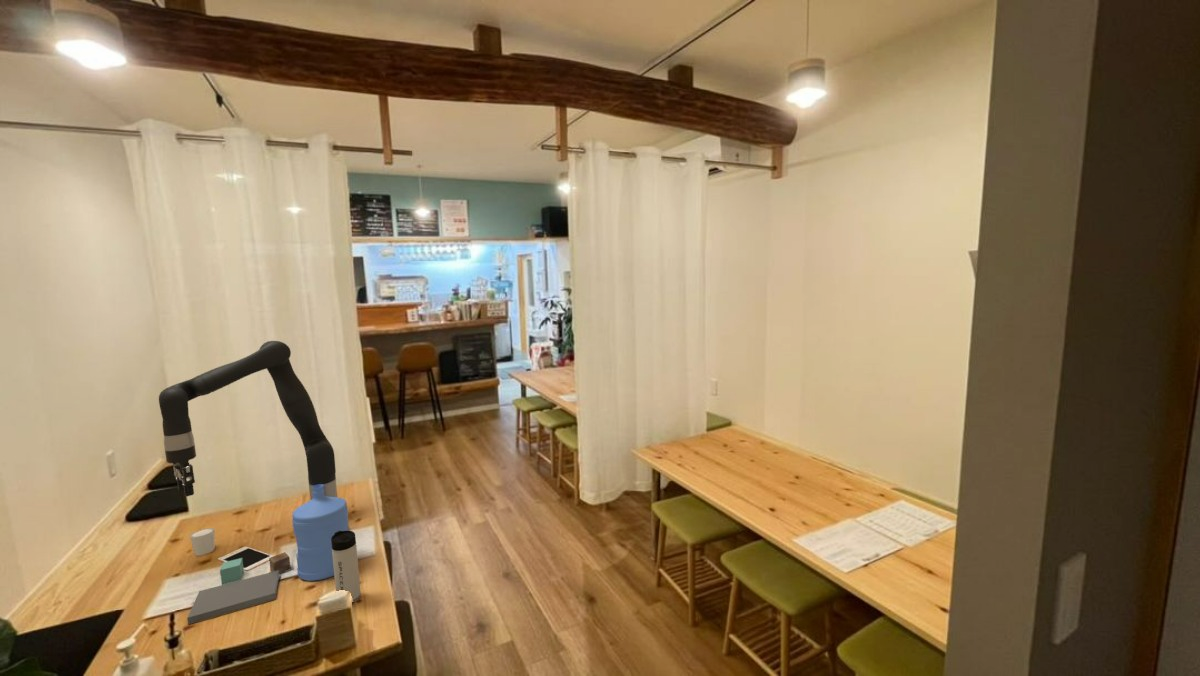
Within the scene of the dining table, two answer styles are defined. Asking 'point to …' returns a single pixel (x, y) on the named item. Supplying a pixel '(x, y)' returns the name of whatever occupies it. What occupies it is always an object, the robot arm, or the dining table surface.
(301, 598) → the dining table surface
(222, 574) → the teal cube
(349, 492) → the dining table surface
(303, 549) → the water jug
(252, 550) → the cell phone
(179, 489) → the robot arm
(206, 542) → the white cylinder
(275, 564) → the walnut block
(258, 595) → the slate board
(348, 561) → the travel mug
